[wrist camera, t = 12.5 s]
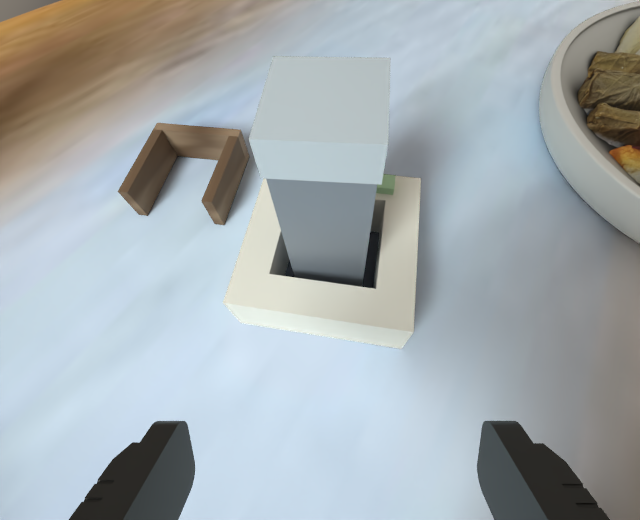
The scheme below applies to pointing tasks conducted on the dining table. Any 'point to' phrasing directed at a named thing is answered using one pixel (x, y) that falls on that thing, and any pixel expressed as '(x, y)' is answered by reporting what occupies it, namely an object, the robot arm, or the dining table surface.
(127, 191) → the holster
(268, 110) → the plug
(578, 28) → the bowl
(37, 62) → the dining table surface
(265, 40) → the dining table surface
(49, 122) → the dining table surface
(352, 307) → the frame
